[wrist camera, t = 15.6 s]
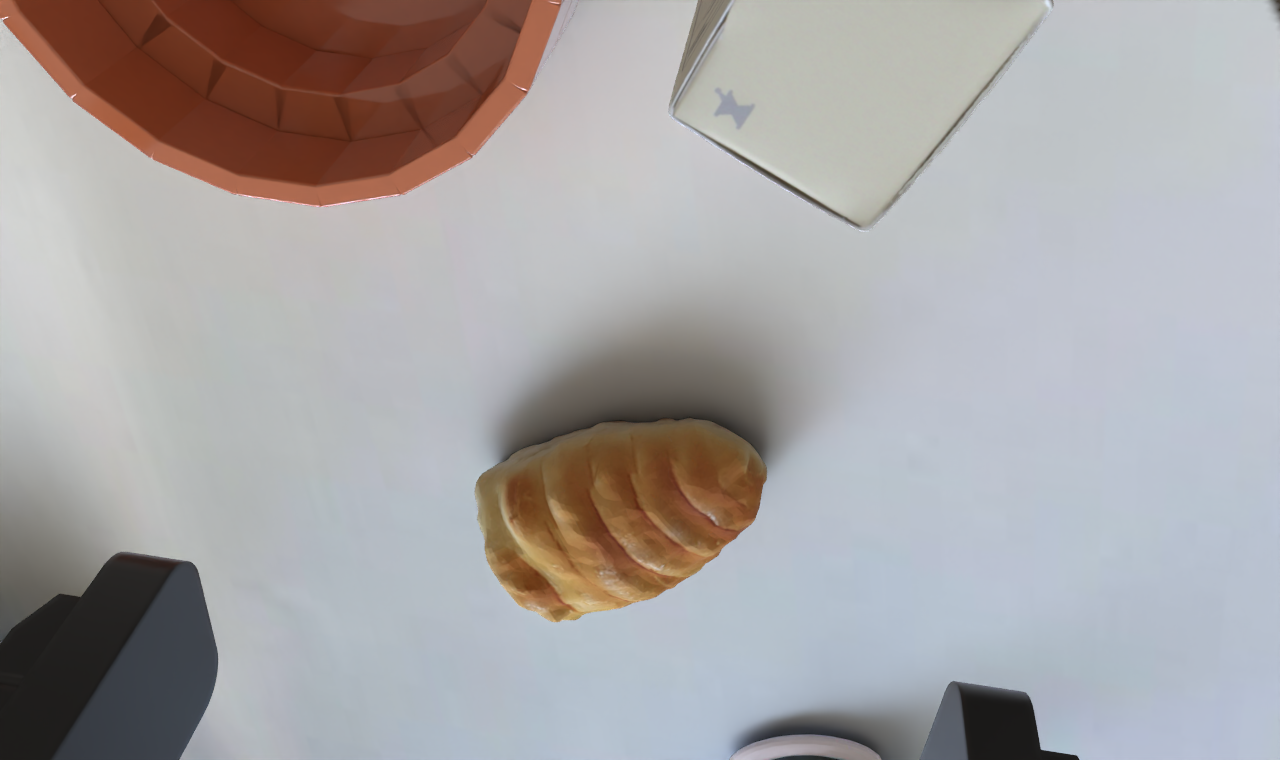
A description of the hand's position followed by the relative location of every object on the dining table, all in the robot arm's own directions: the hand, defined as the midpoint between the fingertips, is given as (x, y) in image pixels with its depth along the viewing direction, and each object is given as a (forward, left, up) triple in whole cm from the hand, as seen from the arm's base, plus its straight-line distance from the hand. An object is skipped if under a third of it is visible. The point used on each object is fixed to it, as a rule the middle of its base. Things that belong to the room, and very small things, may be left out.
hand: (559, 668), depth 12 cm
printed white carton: (+2, +3, -20) cm, 21 cm away
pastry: (-2, -16, -20) cm, 26 cm away
